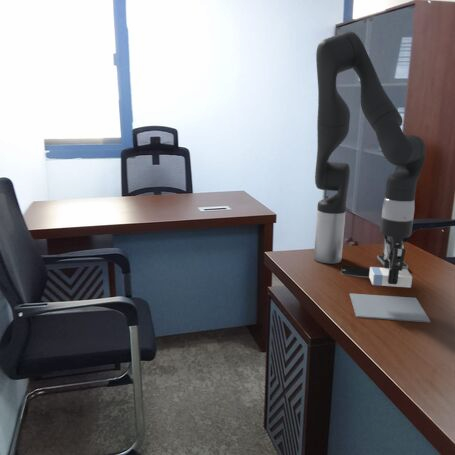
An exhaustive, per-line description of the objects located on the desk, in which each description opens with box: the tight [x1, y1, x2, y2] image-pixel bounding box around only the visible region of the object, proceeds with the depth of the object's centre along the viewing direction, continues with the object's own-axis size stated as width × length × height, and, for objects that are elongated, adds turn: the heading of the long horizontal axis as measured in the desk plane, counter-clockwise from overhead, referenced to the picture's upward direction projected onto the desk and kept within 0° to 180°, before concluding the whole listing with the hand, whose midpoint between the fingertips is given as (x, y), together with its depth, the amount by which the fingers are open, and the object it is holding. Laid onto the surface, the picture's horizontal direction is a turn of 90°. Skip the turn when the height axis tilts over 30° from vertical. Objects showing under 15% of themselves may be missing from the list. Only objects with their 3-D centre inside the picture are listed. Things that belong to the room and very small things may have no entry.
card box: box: [368, 266, 413, 288], centre depth 121 cm, size 10×6×3 cm, turn 82°
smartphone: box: [340, 265, 370, 279], centre depth 148 cm, size 8×1×15 cm
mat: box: [349, 293, 431, 323], centre depth 124 cm, size 14×18×1 cm
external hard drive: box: [376, 254, 409, 271], centre depth 155 cm, size 7×11×2 cm, turn 0°
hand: (389, 278), depth 121 cm, fingers closed on card box, 5 cm apart
